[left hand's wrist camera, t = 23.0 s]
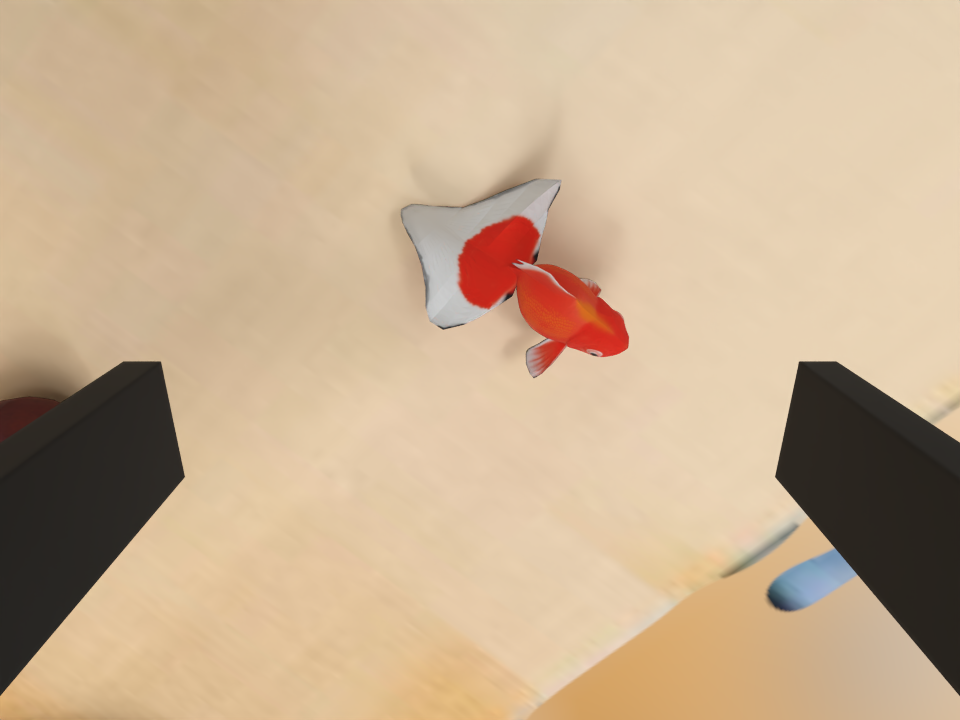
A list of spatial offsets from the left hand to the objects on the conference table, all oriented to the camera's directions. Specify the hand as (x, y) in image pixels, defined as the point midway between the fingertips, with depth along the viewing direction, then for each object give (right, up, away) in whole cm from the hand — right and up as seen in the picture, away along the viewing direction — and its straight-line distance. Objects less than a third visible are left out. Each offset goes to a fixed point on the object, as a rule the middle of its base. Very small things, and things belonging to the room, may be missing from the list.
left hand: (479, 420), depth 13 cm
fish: (+2, +8, +28) cm, 29 cm away
